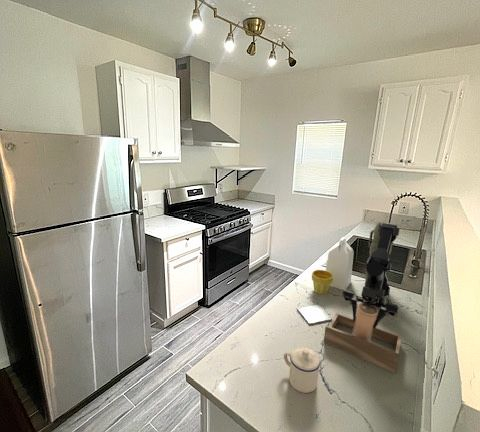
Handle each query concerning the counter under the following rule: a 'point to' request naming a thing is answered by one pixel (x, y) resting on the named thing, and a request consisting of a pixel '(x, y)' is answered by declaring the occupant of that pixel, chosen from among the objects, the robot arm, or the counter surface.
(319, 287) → the plant pot
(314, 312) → the slate tile
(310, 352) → the teacup with lid
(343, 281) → the milk
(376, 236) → the thermos
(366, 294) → the robot arm
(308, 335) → the counter surface
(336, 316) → the wooden box frame
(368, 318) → the terracotta pot
